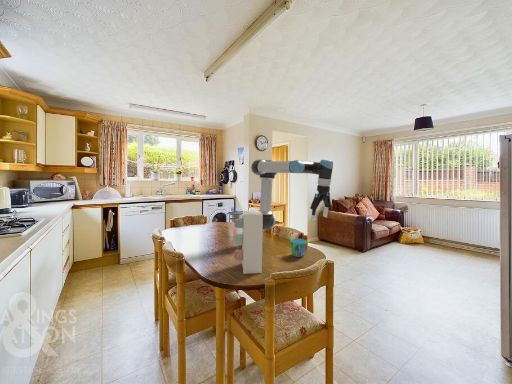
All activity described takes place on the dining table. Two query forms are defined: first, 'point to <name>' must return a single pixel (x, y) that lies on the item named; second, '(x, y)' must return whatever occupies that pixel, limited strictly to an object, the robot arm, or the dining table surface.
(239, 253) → the terracotta button
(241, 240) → the sage button
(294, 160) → the robot arm
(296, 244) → the snack cup
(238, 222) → the slate button
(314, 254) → the dining table surface
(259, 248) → the button pillar
